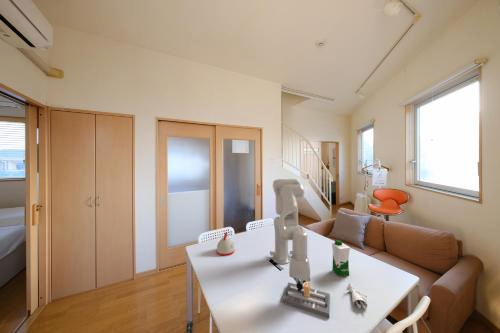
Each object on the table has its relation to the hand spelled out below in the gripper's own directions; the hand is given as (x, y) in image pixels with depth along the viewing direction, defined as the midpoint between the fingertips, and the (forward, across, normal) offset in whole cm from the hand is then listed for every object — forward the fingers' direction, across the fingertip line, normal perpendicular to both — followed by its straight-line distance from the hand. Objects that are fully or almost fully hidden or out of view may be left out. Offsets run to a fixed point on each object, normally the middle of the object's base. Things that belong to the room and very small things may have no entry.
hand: (299, 289), depth 95 cm
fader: (+2, +4, 0) cm, 4 cm away
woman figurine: (+5, +27, +12) cm, 30 cm away
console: (+4, +4, 0) cm, 6 cm away
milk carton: (+5, +20, +33) cm, 39 cm away
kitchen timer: (+5, -63, +26) cm, 68 cm away
